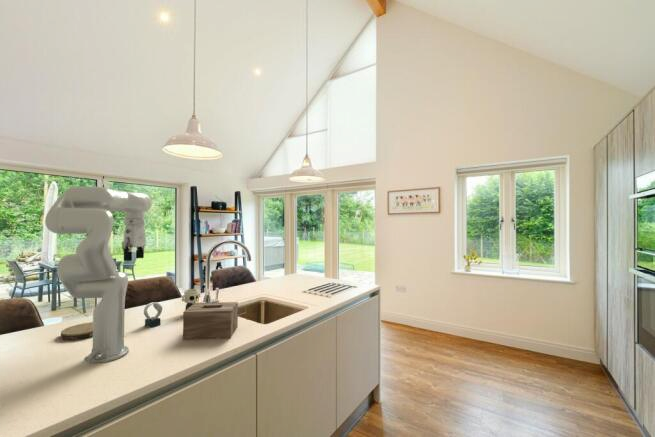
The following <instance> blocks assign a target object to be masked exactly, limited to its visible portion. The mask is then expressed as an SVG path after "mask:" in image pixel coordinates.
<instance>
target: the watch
mask: <svg viewBox="0 0 655 437" xmlns="http://www.w3.org/2000/svg"><path fill="white" fill-rule="evenodd" d="M151 306H153V308H154V309H155V310H156V311H157V313H156V315H154V316H150V315H149V313H148V309H149V307H151ZM162 312H163V306H162V305H161V304H160V303H159V302H154V301H153V302H149V303H148V304H146V305H145V306H144V309H143V315H144V317H145V319H144V326H145V327H148V328H154V327H158V326H160V325H161V318H159V317H160V316H161V315H162Z"/></svg>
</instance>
